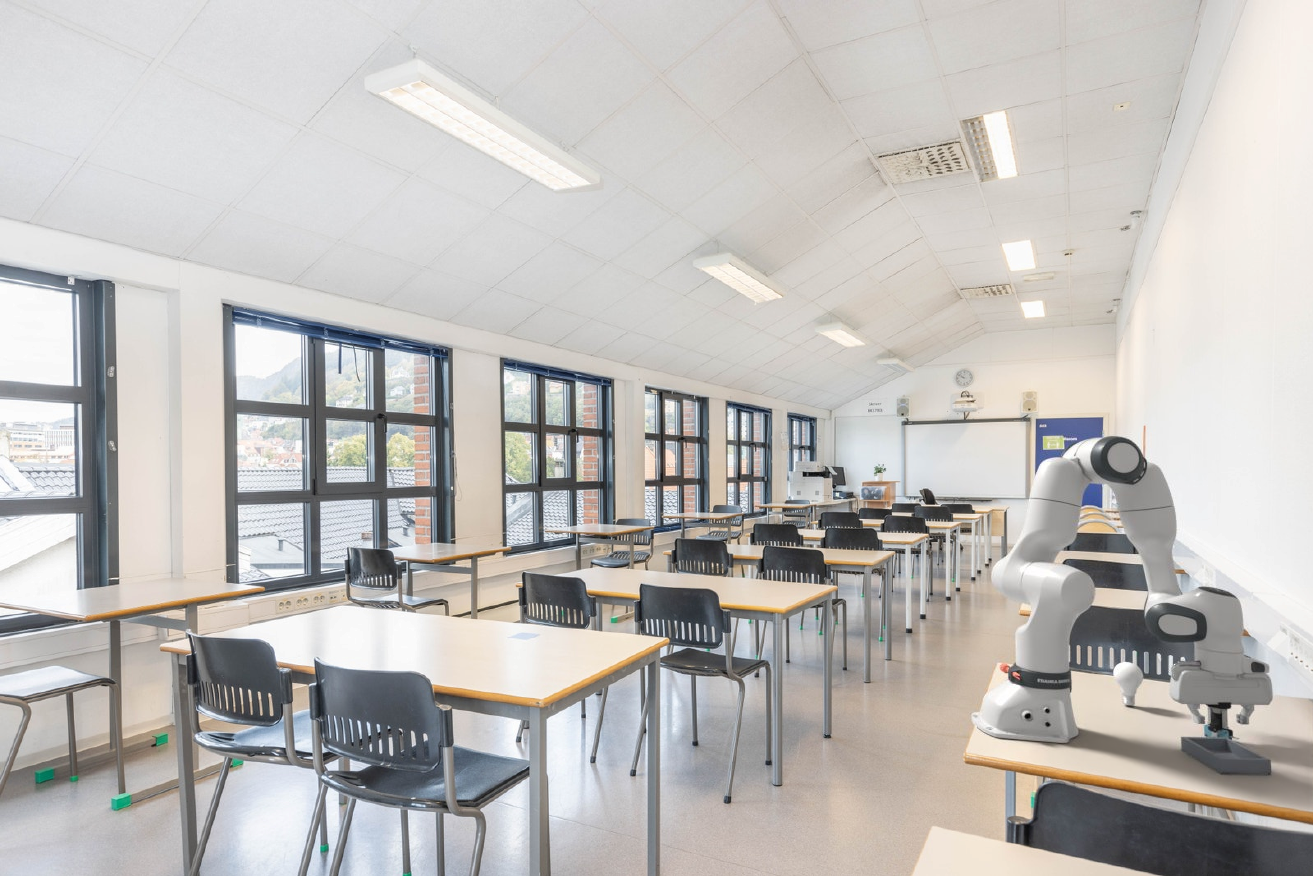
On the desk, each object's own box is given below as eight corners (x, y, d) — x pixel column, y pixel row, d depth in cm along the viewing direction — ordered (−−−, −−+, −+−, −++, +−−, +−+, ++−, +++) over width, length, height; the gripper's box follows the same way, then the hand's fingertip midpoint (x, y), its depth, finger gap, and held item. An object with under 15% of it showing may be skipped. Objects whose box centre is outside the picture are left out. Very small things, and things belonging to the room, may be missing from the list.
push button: (1245, 744, 157) (1244, 698, 158) (1231, 748, 155) (1230, 701, 155) (1212, 733, 163) (1211, 689, 164) (1197, 737, 161) (1196, 692, 162)
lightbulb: (1129, 711, 178) (1128, 666, 178) (1108, 703, 184) (1107, 660, 184) (1150, 709, 179) (1149, 665, 180) (1128, 701, 185) (1127, 658, 186)
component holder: (1221, 774, 142) (1220, 759, 142) (1181, 750, 154) (1181, 736, 154) (1271, 775, 142) (1270, 760, 142) (1227, 751, 153) (1227, 737, 153)
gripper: (1181, 664, 157) (1182, 728, 157) (1277, 665, 156) (1279, 729, 156) (1162, 656, 164) (1163, 717, 163) (1254, 657, 163) (1256, 719, 162)
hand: (1220, 723), depth 160 cm, fingers open, 8 cm apart
